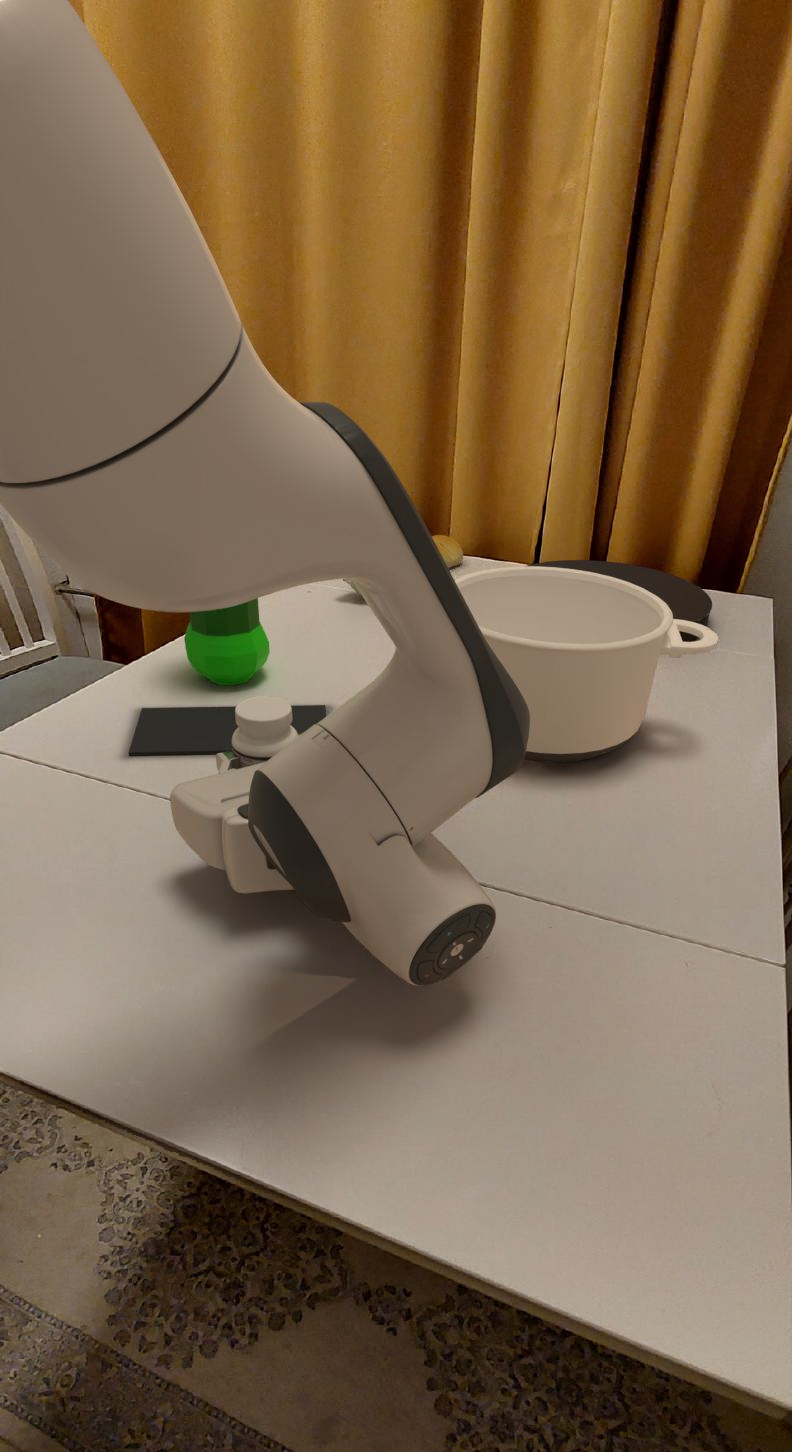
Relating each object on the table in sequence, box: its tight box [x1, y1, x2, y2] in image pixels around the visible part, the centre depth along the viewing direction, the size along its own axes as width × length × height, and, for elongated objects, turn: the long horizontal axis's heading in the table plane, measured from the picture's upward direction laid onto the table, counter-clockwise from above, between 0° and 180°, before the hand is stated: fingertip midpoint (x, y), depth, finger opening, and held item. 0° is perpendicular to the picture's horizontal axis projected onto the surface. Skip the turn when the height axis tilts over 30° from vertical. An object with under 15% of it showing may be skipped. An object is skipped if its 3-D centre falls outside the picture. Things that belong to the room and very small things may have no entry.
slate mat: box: [128, 704, 327, 757], centre depth 88 cm, size 20×10×1 cm, turn 96°
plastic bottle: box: [184, 598, 271, 686], centre depth 92 cm, size 10×10×25 cm
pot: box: [454, 565, 719, 763], centre depth 88 cm, size 33×23×14 cm
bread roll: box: [431, 534, 464, 569], centre depth 136 cm, size 8×9×4 cm
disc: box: [526, 559, 713, 642], centre depth 121 cm, size 30×30×3 cm
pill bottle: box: [232, 695, 299, 768], centre depth 72 cm, size 6×6×10 cm
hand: (261, 750), depth 73 cm, fingers closed on pill bottle, 6 cm apart
